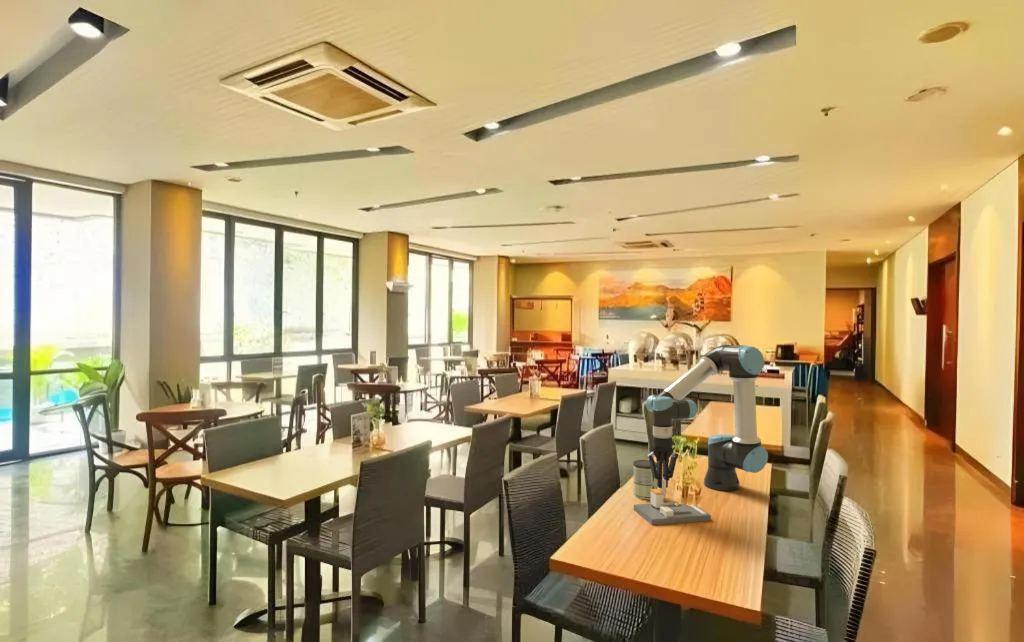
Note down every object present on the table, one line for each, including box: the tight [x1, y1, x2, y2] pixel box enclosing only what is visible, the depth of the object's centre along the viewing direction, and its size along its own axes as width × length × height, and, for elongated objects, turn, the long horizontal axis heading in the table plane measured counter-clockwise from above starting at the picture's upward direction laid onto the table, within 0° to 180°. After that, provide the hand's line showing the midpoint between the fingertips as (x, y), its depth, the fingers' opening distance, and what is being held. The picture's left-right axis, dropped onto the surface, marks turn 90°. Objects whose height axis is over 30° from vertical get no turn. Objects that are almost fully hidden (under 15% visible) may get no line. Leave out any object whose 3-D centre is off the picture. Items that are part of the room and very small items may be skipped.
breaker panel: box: [633, 501, 712, 526], centre depth 209 cm, size 24×16×4 cm, turn 101°
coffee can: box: [632, 459, 659, 500], centre depth 232 cm, size 10×10×14 cm
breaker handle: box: [650, 488, 665, 508], centre depth 213 cm, size 3×5×6 cm, turn 11°
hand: (662, 495), depth 213 cm, fingers closed
